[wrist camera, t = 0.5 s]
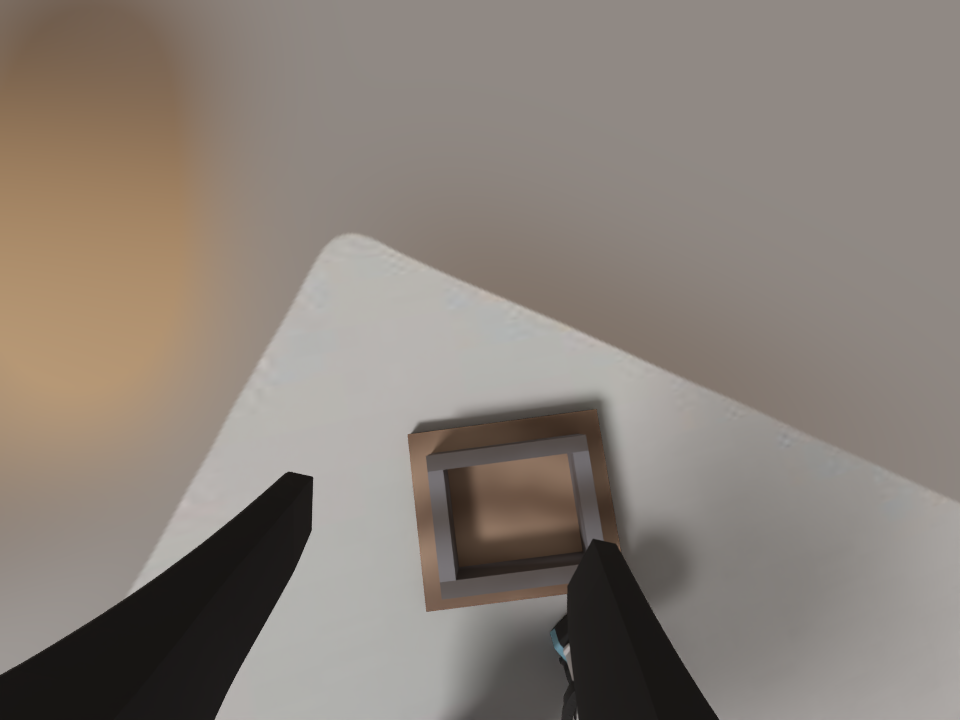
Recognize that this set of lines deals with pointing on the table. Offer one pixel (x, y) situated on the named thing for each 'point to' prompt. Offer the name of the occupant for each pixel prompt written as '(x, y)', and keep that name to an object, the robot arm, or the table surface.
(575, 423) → the socket board
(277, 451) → the table surface
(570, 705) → the push button
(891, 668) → the table surface
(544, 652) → the table surface
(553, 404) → the table surface
